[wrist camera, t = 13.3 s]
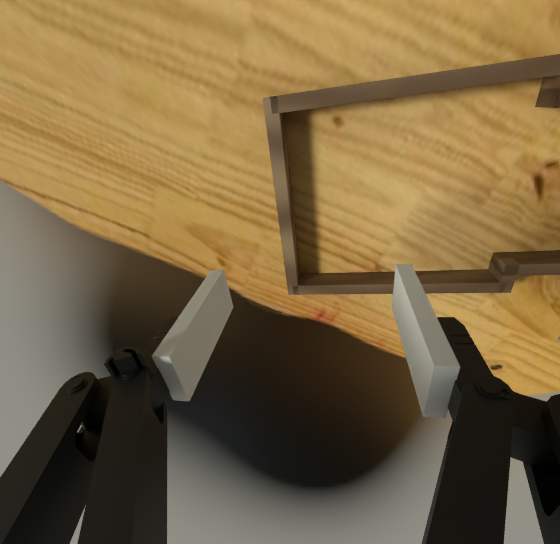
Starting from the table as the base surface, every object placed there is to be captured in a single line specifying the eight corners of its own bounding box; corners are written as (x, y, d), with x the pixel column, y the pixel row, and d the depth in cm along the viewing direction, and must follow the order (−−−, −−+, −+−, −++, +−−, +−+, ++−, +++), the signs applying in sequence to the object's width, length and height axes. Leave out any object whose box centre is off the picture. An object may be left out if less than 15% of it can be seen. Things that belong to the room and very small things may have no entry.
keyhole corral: (268, 97, 25) (262, 97, 23) (767, 24, 19) (823, 15, 16) (291, 282, 35) (288, 294, 33) (623, 276, 28) (646, 291, 26)
